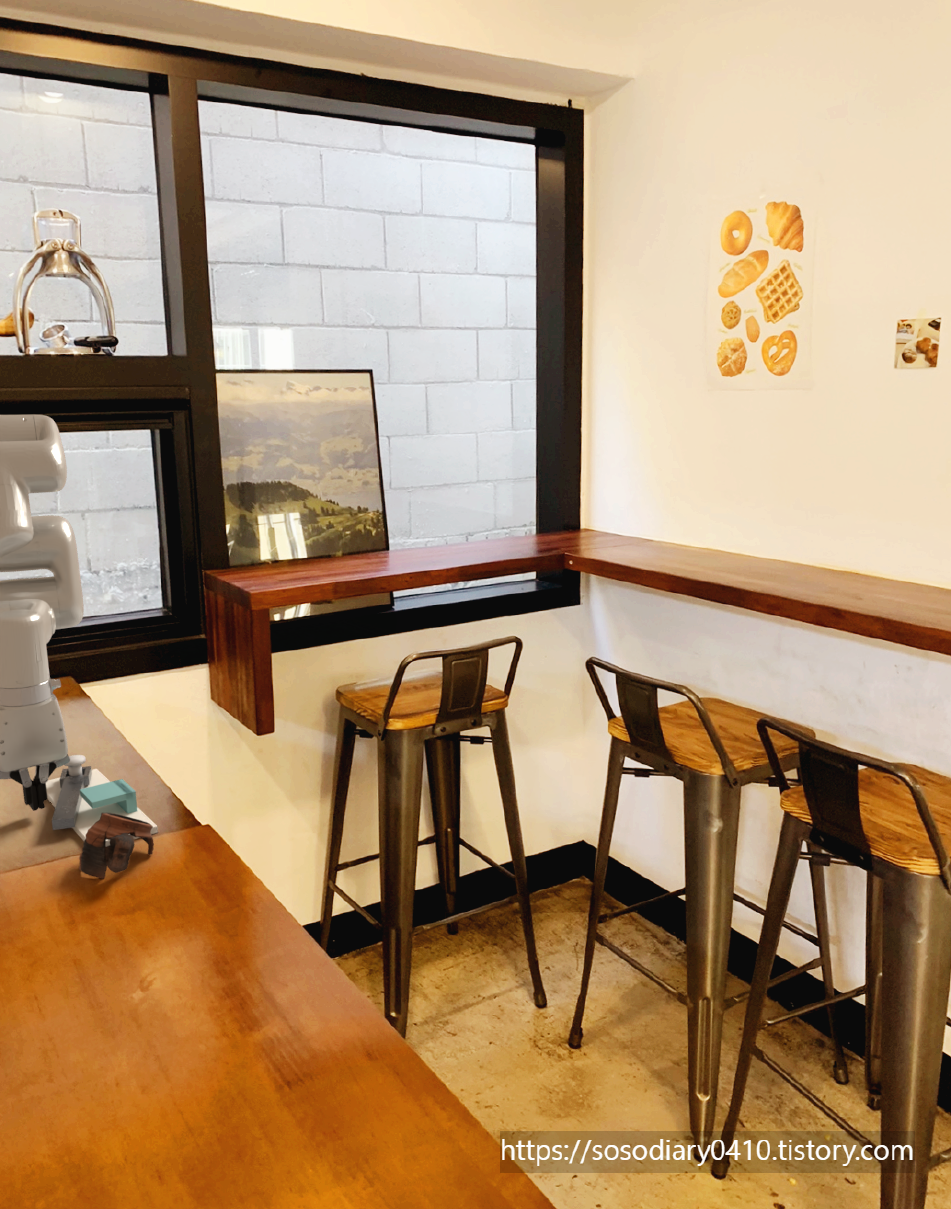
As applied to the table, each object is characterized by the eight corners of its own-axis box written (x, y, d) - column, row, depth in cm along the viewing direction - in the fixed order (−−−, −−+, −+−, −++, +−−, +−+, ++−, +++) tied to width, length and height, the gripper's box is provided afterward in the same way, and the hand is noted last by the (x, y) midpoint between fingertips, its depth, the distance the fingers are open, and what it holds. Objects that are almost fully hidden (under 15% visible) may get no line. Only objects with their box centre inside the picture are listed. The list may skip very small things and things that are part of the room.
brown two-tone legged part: (67, 864, 133) (88, 806, 135) (133, 878, 138) (152, 821, 140) (84, 879, 123) (106, 816, 125) (154, 893, 127) (174, 832, 129)
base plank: (38, 788, 157) (35, 758, 156) (97, 773, 163) (94, 745, 161) (92, 851, 136) (89, 817, 134) (158, 832, 141) (155, 799, 140)
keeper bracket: (81, 809, 147) (79, 789, 146) (124, 798, 151) (122, 778, 150) (94, 823, 142) (92, 802, 141) (137, 811, 146) (135, 791, 145)
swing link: (63, 777, 158) (62, 768, 158) (91, 774, 159) (91, 765, 159) (47, 830, 139) (46, 821, 139) (79, 826, 140) (78, 817, 140)
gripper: (68, 677, 149) (79, 786, 153) (-38, 696, 140) (-23, 811, 144) (83, 689, 143) (94, 801, 147) (-27, 709, 134) (-11, 829, 138)
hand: (36, 806), depth 146 cm, fingers closed
